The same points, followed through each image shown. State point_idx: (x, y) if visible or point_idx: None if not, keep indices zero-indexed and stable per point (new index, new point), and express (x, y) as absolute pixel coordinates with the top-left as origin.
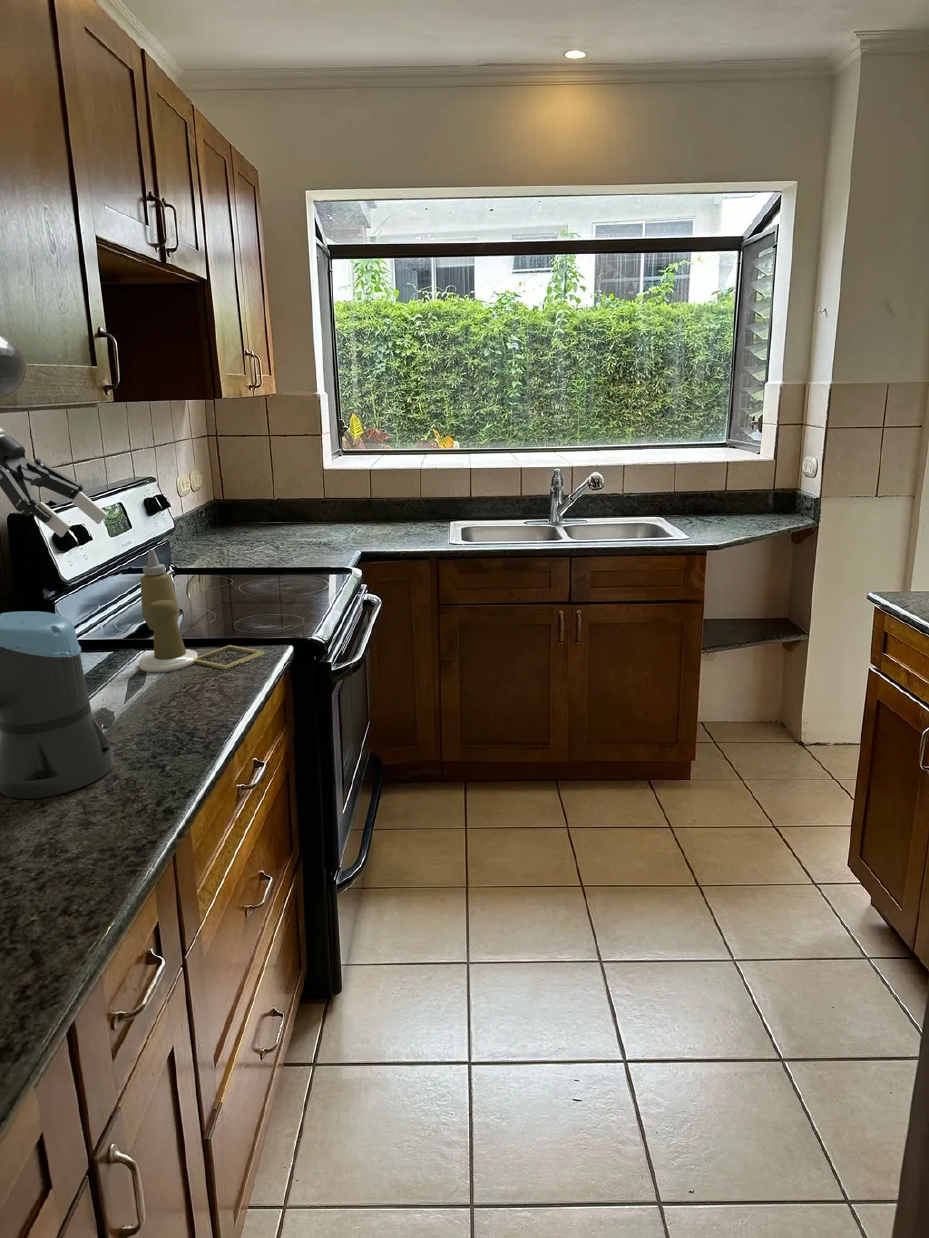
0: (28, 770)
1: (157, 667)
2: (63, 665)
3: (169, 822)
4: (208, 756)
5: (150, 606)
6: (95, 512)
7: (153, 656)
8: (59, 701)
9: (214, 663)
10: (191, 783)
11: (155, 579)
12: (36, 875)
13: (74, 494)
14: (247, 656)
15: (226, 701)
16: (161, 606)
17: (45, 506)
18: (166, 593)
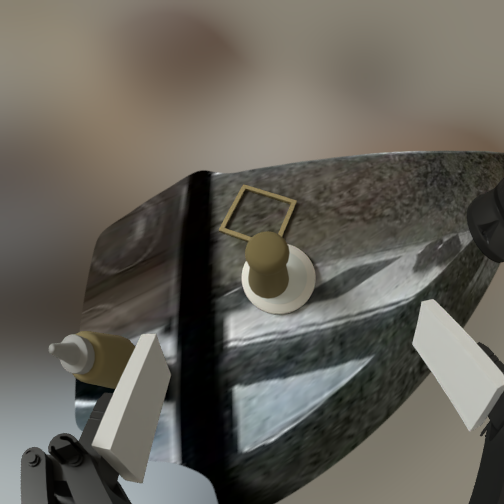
0: None
1: (314, 270)
2: None
3: (484, 154)
4: (441, 155)
5: (281, 262)
6: (154, 374)
7: (276, 298)
8: None
9: (287, 216)
10: (462, 155)
11: (101, 347)
12: None
13: (106, 479)
14: (261, 193)
15: (370, 172)
16: (284, 240)
17: (492, 363)
18: (111, 337)
